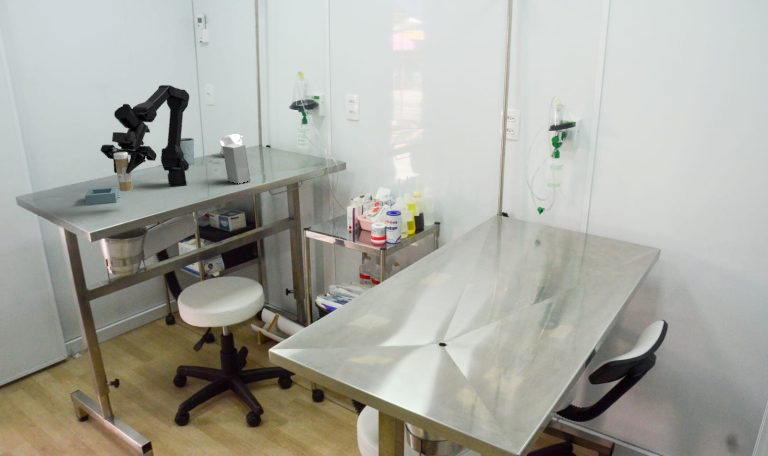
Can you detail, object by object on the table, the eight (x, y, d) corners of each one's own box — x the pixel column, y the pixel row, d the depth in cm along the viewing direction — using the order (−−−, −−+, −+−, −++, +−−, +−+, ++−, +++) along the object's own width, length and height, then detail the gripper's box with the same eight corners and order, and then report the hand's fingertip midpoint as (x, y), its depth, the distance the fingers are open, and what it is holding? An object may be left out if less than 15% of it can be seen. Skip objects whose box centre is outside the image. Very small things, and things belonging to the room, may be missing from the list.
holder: (118, 195, 215) (117, 186, 214) (116, 202, 206) (114, 193, 205) (90, 197, 212) (88, 189, 210) (86, 204, 203) (84, 195, 201)
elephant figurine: (240, 161, 290) (231, 141, 291) (256, 147, 277) (247, 126, 278) (219, 165, 282) (210, 144, 282) (235, 151, 269) (226, 129, 269)
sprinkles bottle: (117, 190, 197) (110, 153, 193) (129, 187, 200) (123, 150, 196) (123, 192, 194) (117, 154, 190) (135, 189, 198) (129, 152, 193)
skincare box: (251, 181, 234) (248, 144, 229) (236, 185, 230) (233, 147, 224) (239, 178, 240) (236, 142, 235) (225, 181, 235) (221, 144, 230)
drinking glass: (170, 165, 264) (166, 140, 260) (181, 161, 273) (178, 137, 269) (189, 166, 262) (186, 141, 258) (200, 162, 271) (197, 138, 267)
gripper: (98, 121, 195) (83, 159, 188) (147, 123, 192) (133, 161, 185) (116, 140, 205) (102, 176, 198) (162, 141, 202) (149, 178, 195)
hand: (121, 172), depth 194 cm, fingers closed on sprinkles bottle, 4 cm apart
